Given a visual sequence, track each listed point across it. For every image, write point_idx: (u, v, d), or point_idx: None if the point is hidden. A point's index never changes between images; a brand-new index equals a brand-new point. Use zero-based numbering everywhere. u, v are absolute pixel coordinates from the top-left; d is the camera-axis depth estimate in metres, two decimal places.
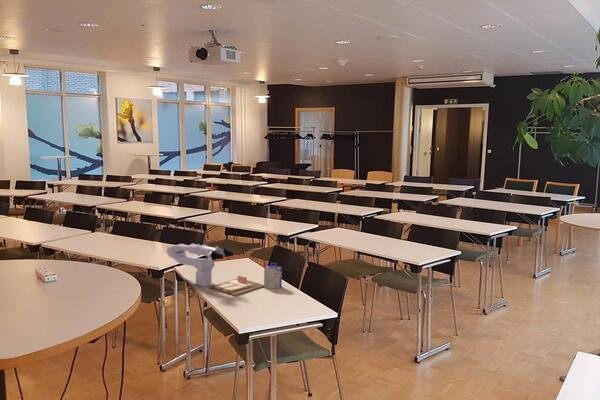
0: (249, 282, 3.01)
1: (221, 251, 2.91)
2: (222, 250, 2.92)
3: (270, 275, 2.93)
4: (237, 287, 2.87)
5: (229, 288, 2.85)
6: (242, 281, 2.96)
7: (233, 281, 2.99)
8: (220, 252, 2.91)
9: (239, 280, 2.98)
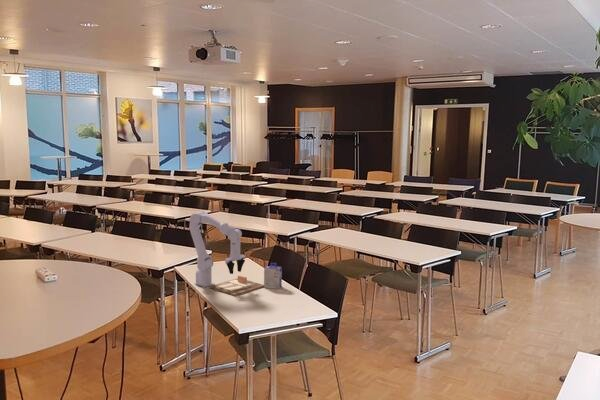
0: (249, 282, 3.01)
1: None
2: (241, 257, 2.93)
3: (270, 275, 2.93)
4: (237, 287, 2.87)
5: (229, 288, 2.85)
6: (242, 281, 2.96)
7: (233, 281, 2.99)
8: None
9: (239, 280, 2.98)
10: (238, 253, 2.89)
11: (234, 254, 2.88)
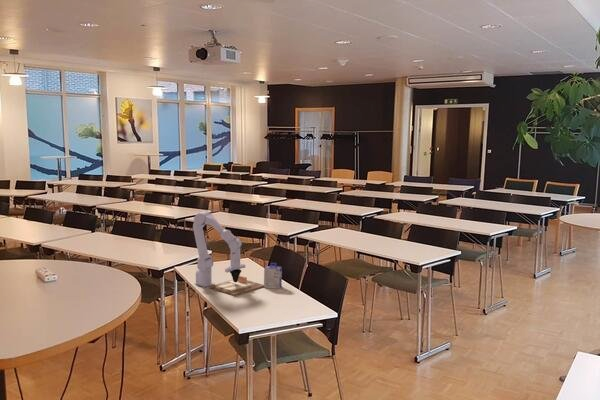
0: (249, 282, 3.01)
1: None
2: None
3: (270, 275, 2.93)
4: (237, 287, 2.87)
5: (229, 288, 2.85)
6: (242, 281, 2.96)
7: None
8: None
9: (239, 280, 2.98)
10: (238, 262, 2.89)
11: (234, 263, 2.89)
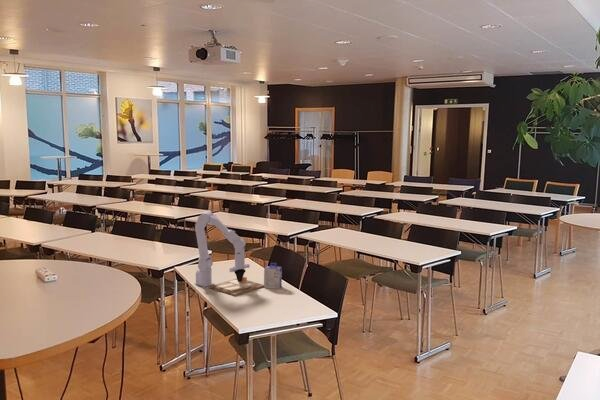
0: (249, 282, 3.01)
1: None
2: None
3: (270, 275, 2.93)
4: (237, 287, 2.87)
5: (229, 288, 2.85)
6: (242, 281, 2.96)
7: (233, 281, 2.99)
8: None
9: None
10: (242, 262, 2.92)
11: (238, 263, 2.91)
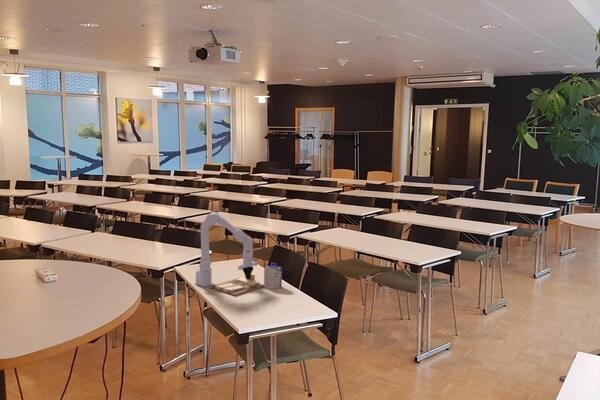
0: None
1: None
2: (253, 264, 3.02)
3: (270, 275, 2.93)
4: (237, 287, 2.87)
5: (229, 288, 2.85)
6: (250, 279, 3.01)
7: (241, 279, 3.04)
8: None
9: None
10: (250, 260, 2.97)
11: (247, 261, 2.97)
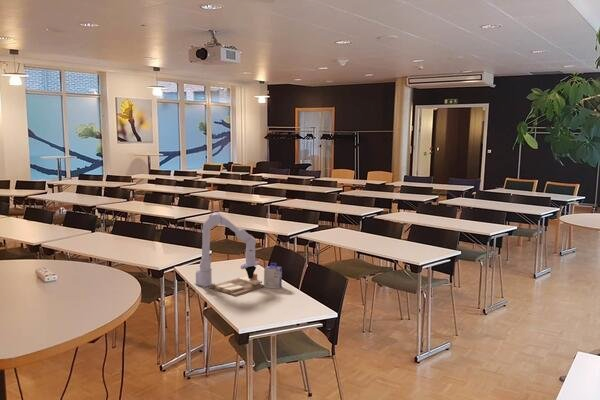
0: None
1: None
2: (255, 263, 3.04)
3: (270, 275, 2.93)
4: (237, 287, 2.87)
5: (229, 288, 2.85)
6: (253, 278, 3.03)
7: (244, 278, 3.06)
8: None
9: None
10: (253, 259, 2.99)
11: (249, 260, 2.98)
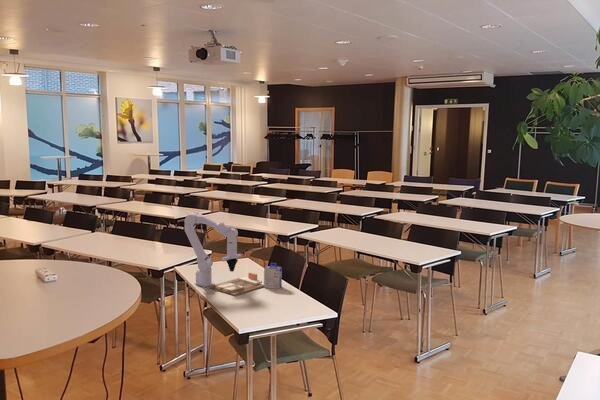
0: None
1: (235, 257, 2.96)
2: (237, 256, 2.96)
3: (270, 275, 2.93)
4: (237, 287, 2.87)
5: (229, 288, 2.85)
6: (253, 278, 3.03)
7: (244, 278, 3.06)
8: None
9: (250, 277, 3.05)
10: (235, 252, 2.92)
11: (231, 253, 2.91)
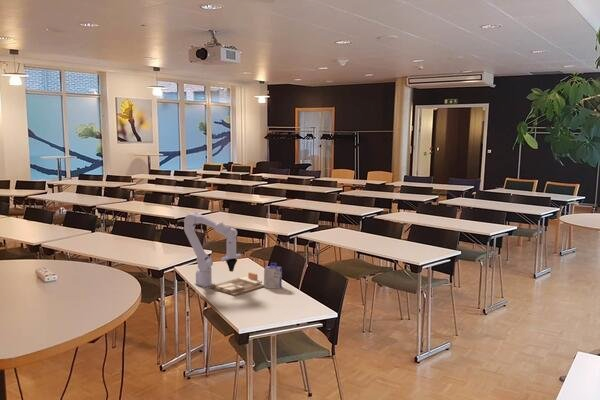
0: None
1: (235, 257, 2.95)
2: (237, 256, 2.96)
3: (270, 275, 2.93)
4: (237, 287, 2.87)
5: (229, 288, 2.85)
6: (253, 278, 3.03)
7: (244, 278, 3.06)
8: None
9: (250, 277, 3.05)
10: (234, 252, 2.92)
11: (230, 253, 2.91)
